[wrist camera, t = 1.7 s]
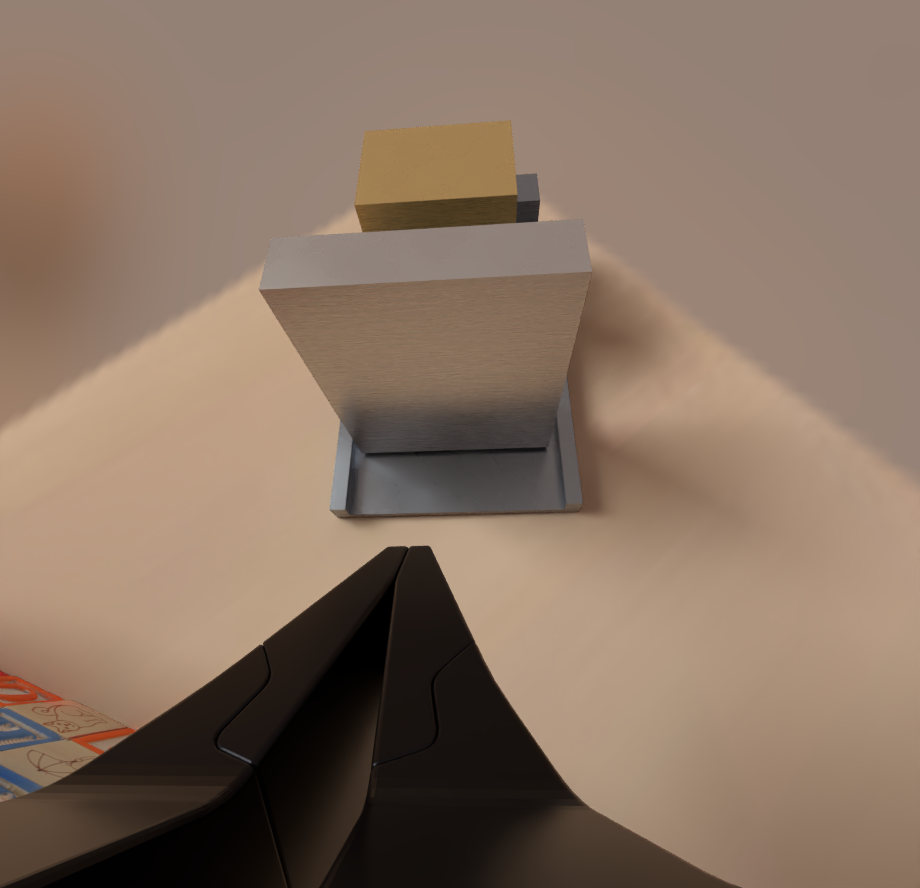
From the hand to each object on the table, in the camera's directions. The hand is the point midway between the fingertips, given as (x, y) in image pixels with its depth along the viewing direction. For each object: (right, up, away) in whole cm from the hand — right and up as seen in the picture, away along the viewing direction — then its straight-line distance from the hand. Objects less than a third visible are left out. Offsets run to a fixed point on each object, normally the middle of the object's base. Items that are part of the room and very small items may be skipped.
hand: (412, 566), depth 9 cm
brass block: (+1, +9, +17) cm, 19 cm away
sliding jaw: (+1, +3, +14) cm, 14 cm away
